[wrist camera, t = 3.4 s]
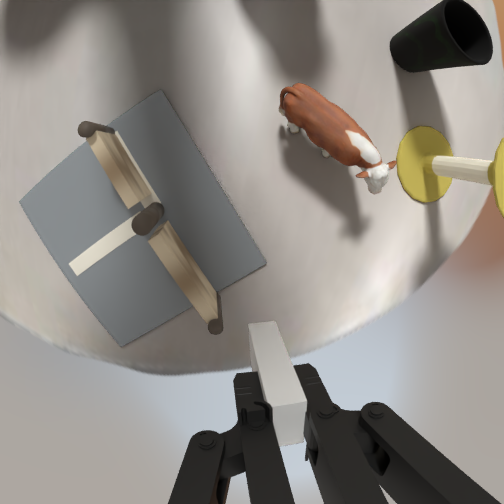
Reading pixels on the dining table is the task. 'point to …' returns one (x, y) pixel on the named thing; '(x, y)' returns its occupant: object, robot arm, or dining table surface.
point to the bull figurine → (334, 133)
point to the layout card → (120, 219)
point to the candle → (443, 167)
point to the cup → (443, 39)
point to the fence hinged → (188, 275)
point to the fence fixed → (122, 174)
